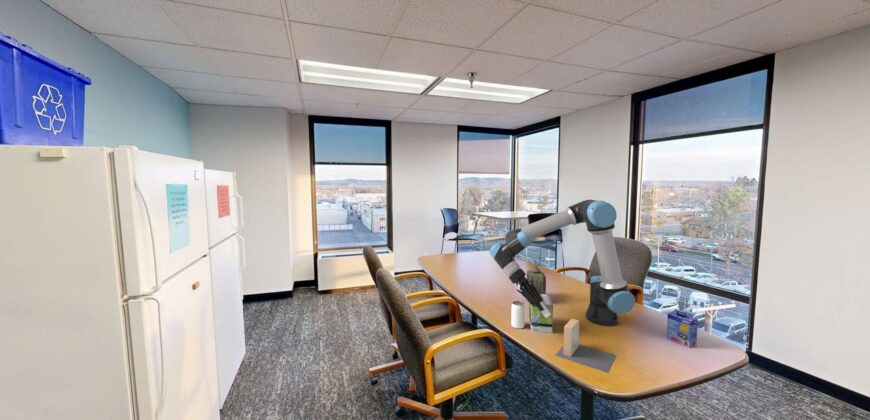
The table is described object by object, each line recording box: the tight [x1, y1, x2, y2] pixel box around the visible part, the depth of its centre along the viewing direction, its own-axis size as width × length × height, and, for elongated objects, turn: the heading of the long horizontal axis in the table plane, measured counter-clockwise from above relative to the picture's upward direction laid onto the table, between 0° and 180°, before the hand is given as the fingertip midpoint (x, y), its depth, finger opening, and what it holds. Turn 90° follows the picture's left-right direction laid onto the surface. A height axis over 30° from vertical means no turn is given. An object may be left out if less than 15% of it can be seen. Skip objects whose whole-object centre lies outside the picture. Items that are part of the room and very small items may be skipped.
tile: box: [563, 318, 580, 357], centre depth 138 cm, size 3×10×12 cm, turn 141°
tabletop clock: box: [526, 259, 547, 294], centre depth 196 cm, size 14×9×25 cm, turn 172°
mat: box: [554, 343, 618, 374], centre depth 135 cm, size 20×16×1 cm
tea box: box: [528, 293, 554, 334], centre depth 162 cm, size 15×10×15 cm
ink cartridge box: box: [666, 310, 699, 349], centre depth 146 cm, size 10×6×14 cm, turn 27°
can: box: [510, 300, 526, 330], centre depth 163 cm, size 6×6×12 cm
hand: (548, 316), depth 143 cm, fingers closed
